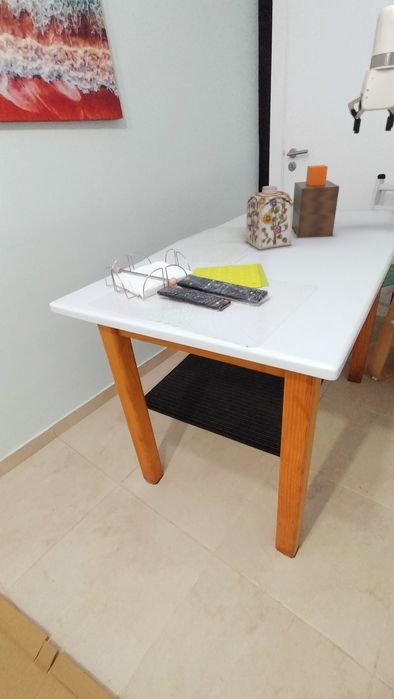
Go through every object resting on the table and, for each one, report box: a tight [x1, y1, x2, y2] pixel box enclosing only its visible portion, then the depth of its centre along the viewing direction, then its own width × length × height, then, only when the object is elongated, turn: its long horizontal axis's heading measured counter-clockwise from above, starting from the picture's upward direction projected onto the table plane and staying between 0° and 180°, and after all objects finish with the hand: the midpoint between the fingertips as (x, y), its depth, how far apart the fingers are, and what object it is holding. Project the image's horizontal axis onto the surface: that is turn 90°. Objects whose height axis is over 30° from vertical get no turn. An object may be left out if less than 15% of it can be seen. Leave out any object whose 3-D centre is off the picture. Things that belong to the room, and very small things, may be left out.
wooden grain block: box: [292, 179, 340, 238], centre depth 123 cm, size 12×17×16 cm
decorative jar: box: [245, 185, 293, 251], centre depth 112 cm, size 12×12×18 cm
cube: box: [305, 164, 328, 186], centre depth 117 cm, size 6×6×6 cm
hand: (371, 132), depth 109 cm, fingers open, 9 cm apart
